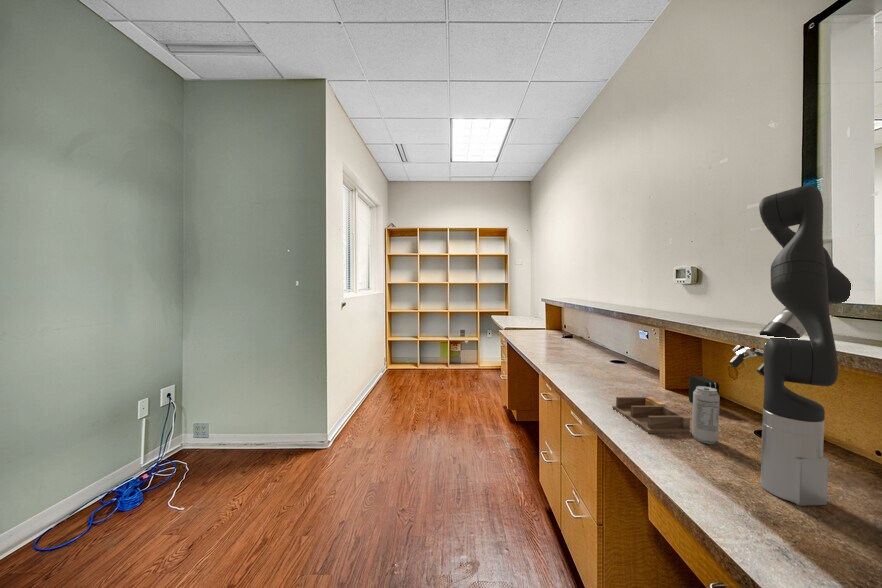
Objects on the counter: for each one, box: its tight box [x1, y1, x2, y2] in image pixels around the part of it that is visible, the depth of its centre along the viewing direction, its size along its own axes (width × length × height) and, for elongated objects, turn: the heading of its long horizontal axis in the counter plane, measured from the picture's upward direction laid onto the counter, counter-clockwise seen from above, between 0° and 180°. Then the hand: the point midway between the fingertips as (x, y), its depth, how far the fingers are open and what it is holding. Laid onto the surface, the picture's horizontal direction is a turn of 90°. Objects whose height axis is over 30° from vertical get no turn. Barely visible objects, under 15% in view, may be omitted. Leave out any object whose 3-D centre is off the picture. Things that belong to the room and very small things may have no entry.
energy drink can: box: [691, 386, 720, 445], centre depth 100 cm, size 6×6×15 cm
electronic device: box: [688, 375, 720, 404], centre depth 128 cm, size 4×10×10 cm, turn 174°
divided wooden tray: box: [611, 395, 691, 434], centre depth 114 cm, size 20×13×5 cm, turn 3°
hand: (745, 369), depth 100 cm, fingers open, 8 cm apart
